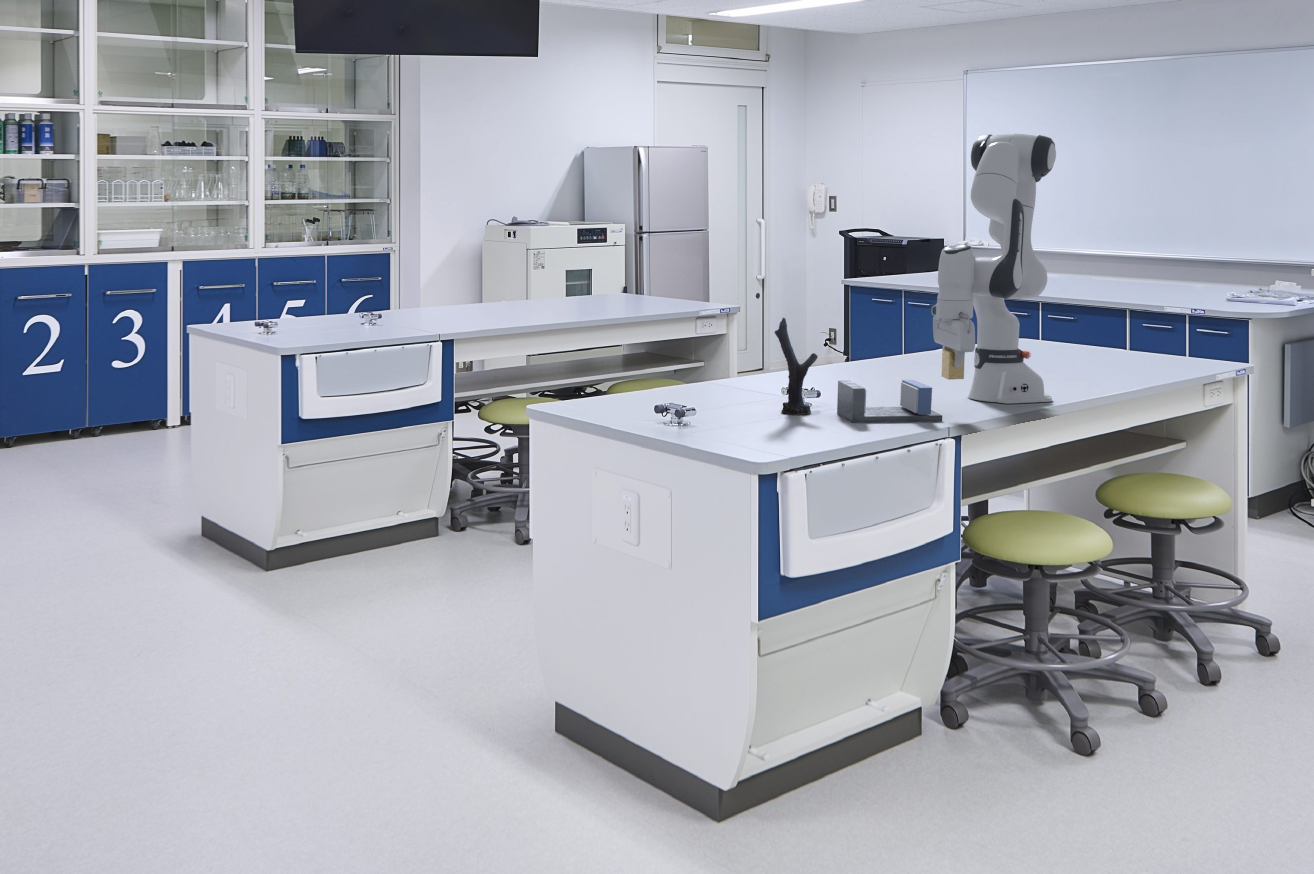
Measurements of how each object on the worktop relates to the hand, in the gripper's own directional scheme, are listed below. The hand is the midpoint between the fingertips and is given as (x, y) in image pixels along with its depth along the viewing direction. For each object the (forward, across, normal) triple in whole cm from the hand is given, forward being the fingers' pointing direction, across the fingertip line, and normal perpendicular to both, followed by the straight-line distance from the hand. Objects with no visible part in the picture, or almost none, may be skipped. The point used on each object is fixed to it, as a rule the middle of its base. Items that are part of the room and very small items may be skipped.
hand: (953, 365), depth 304 cm
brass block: (+3, 0, 0) cm, 3 cm away
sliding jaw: (+11, -1, +10) cm, 15 cm away
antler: (+12, +6, +40) cm, 42 cm away
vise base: (+12, -1, +17) cm, 21 cm away
